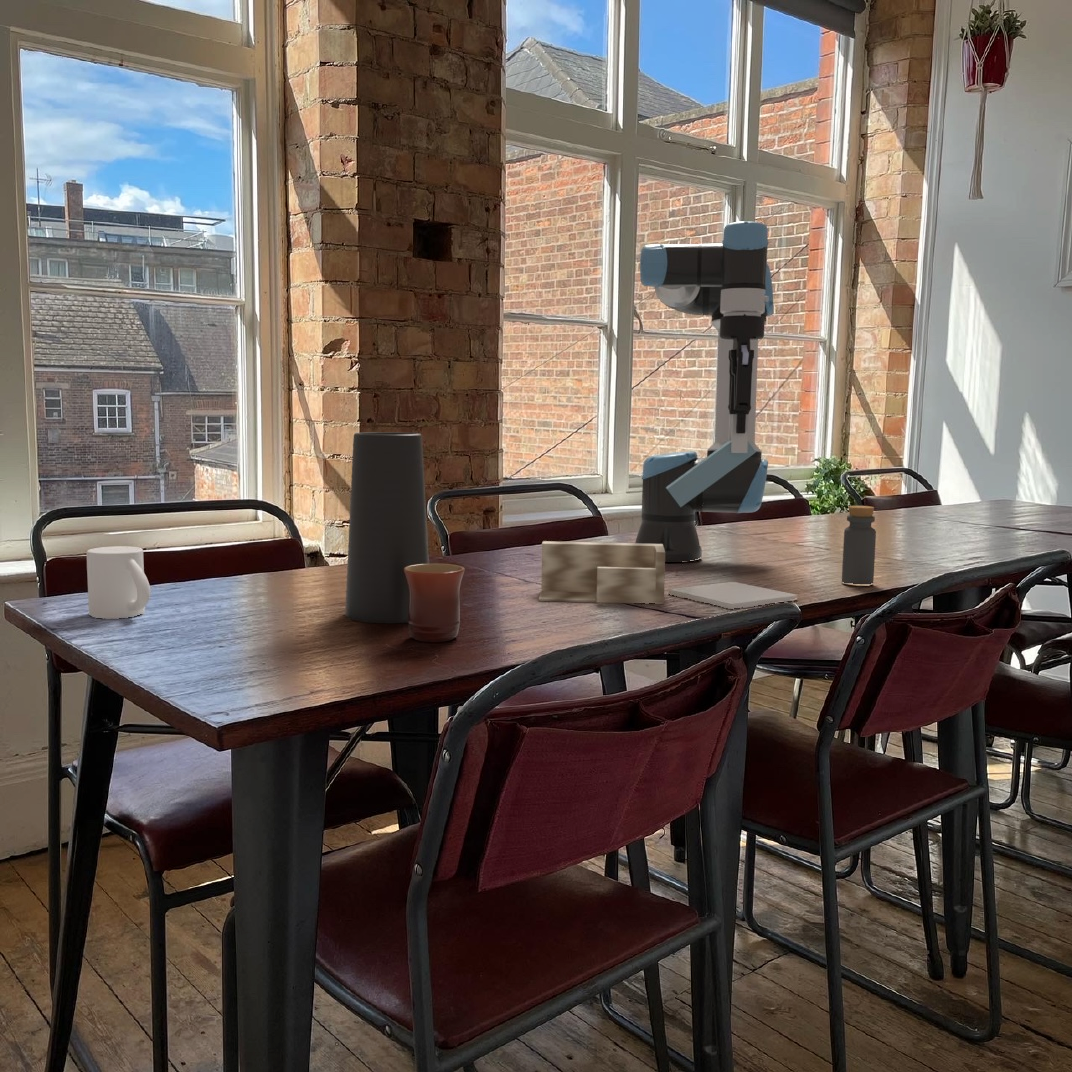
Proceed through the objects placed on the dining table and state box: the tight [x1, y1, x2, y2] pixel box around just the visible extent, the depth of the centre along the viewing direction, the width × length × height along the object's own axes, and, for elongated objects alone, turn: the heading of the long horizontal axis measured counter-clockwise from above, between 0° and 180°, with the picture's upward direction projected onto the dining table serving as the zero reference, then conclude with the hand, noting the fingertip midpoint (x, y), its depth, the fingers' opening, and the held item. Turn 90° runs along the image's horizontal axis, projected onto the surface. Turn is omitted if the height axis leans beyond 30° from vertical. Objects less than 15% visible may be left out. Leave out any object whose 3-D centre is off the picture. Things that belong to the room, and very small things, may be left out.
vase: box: [345, 431, 430, 624], centre depth 171 cm, size 14×14×29 cm
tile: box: [667, 581, 799, 610], centre depth 192 cm, size 16×16×1 cm
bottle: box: [841, 505, 877, 584], centre depth 206 cm, size 6×6×15 cm
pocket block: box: [538, 540, 666, 605], centre depth 190 cm, size 22×10×9 cm, turn 86°
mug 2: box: [404, 563, 466, 643], centre depth 158 cm, size 12×9×10 cm
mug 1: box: [86, 545, 151, 620], centre depth 169 cm, size 8×10×12 cm
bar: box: [666, 440, 756, 507], centre depth 189 cm, size 16×4×4 cm
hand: (737, 451), depth 188 cm, fingers closed on bar, 4 cm apart
